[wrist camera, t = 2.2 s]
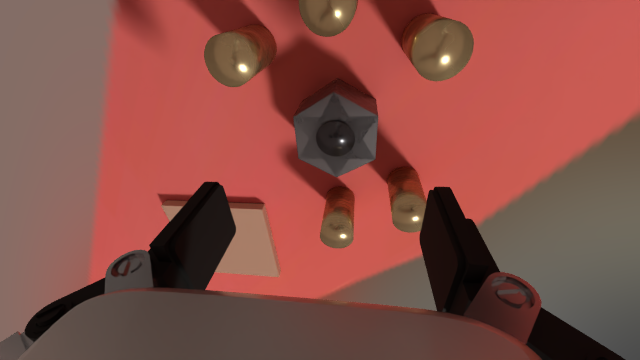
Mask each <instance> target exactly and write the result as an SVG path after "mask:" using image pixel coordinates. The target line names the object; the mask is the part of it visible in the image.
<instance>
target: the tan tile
mask: <svg viewBox="0 0 640 360" xmlns="http://www.w3.org/2000/svg"><path fill="white" fill-rule="evenodd" d="M187 202H188V201H176V200H166V201H165V202H164V203H163V204H162V205H161V206H162V208H163V210H164V212H165V213H166V215H167V217H168V219H169V221H171V220H172V219H173V217H174V216H175V215H176V214H177V213H178V212H179V211H180V209H181V208H182V207H183V206H184V205H185V204H186V203H187ZM228 203H229V202H228ZM229 207H230V210H231V213H232V216H233V219H234V222H235V225H236V233H235V235H234V237H233V239H232V241H231V243H230V245H229V246H228V248H227V250H226V252H225V254H224V256H223V258H222V259H221V261H220V263H219V265H218V267H217V269H216V270H215V272H220V273H233V274H246V275H259V276H271V277H279V276H280V272H281V269H280V265H279V261H278V257H277V253H276V249H275V245H274V240H273V236H272V232H271V228H270V224H269V220H268V215H267V211H266V207H265V204H256V203H229Z"/></svg>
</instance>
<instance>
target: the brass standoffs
mask: <svg viewBox="0 0 640 360" xmlns="http://www.w3.org/2000/svg"><path fill="white" fill-rule="evenodd" d="M357 4H358V0H299V9H300V14H301V17H302V19H303V21H304V23H305V24H306V26H307V27H308V28H309V29H310V30H311V31H312V32H314V33H315V34H317V35H320V36H325V37H330V36H334V35H337V34H339V33H341V32H342V31H344V30H345V29H346V28H347V27H348V25H349V24H350V23H351V21H352V19H353V17H354V14H355V11H356V8H357ZM473 45H474V42H473V36H472V33H471V31H470V30H469V28H468V27H467V26H466V25H465V24H463V23H461V22H459V21H455V20H452V19H449V18H445V17H442V16H438V15H435V14H430V13H426V14H421V15H419V16H417V17H415V18H414V19H412V20H411V21H410V22H409V23H408V25H407V26H406V28H405V30H404V32H403V35H402V48H403V51H404V53H405V54H406V56H407V57H408V58H409V60H410V61H411V63H412V64H413V65H414V67H415V68H416V70H417V71H418V72H419V74H420V75H421V76H423V77H424V78H426V79H428V80H431V81H443V80H446V79H449V78H451V77H453V76H455V75H456V74H458V73H459V72H460V71H461V70H462V69H463V68H464V67H465V66H466V64H467V63H468V61H469V59H470V57H471V55H472V52H473ZM276 52H277V46H276V42H275V39H274V37H273V35H272V34H271V32H270V31H269V30H267V29H266V28H265V27H263V26H260V25H250V26H246V27H243V28H239V29H236V30H232V31H229V32H225V33H222V34H218V35H215V36H213V37H212V38H211V39H210V40H209V41H208V42H207V44H206V46H205V51H204V58H205V63H206V66H207V68H208V70H209V72H210V73H211V75H212V76H213V77H214V78H215V79H216V80H217V81H218V82H220V83H221V84H223V85H226V86H229V87H239V86H241V85H243V84H245V83H246V82H248V81H249V80H250V79H251V78H253V77H254V76H255V75H257V74H258V73H259V72H260V71H262V70H263V69H264V68H266V67H267V66H268V65H270V64H271V63H272V62H273V60H274V59H275V57H276ZM387 183H388V190H389V198H390V205H391V212H392V220H393V224H394V226H395V227H396V228H397V229H399V230H401V231H404V232H418V231H421V227H422V222H423V218H424V213H425V208H426V203H427V201H426V198H425V195H424V191H423V188H422V185H421V182H420V179H419V175H418V173H417V172H416V171H415V170H414V169H412V168H409V167H399V168H396V169H394V170H393V171H392V172H391V173H390V174H389V175H388V178H387ZM354 202H355V197H354V194H353V192H352V191H351V190H349V189H348V188H345V187H335V188H332V189H331V190H330V191H329V192H328V193H327V197H326V203H325V209H324V215H323V221H322V226H321V232H320V238H321V240H322V242H323V243H324V244H326V245H327V246H329V247H332V248H344V247H347V246H349V245H350V244H351V243H352V241H353V230H354Z"/></svg>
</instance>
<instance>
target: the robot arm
mask: <svg viewBox="0 0 640 360" xmlns="http://www.w3.org/2000/svg"><path fill="white" fill-rule="evenodd" d="M235 233H236V225H235V222H234V219H233V216H232V213H231V210H230V207H229V203H228V200H227V197H226V194H225V191H224V188H223V186H222V185H220V184H219V183H218V182H204V183H203V184H202V186H201V187H200V188H199V189H198V190H197V191H196V192H195V194H194V195H193V196H192V197H191V198H190V199H189V200H188V202H187V203H186V204H185V205H184V206H183V207H182V208H181V209H180V211H179V212H178V213H177V214H176V215H175V216H174V217H173V219H172V220H171V221H170V222H169V223H168V224H167V225H166V227H165V228H164V229H163V230H162V231H161V232H160V233H159V235H158V236H157V237H156V238H155V239H154V240H153V241H152V243H151V244H150V245H149V246H150V247H151V249H150V250H149V251H148V252H147V251H145V250H134V251H131V252H128V253H126V254H124V255H122V256H120V257H119V258H117V259H116V260H115V261H114V262H113V263H112V264H111V265H110V266H109V267H108V269H107V272H106V277H105V278H103V279H101V280H99V281H97V282H95V283H93V284H90V285H88V286H86V287H84V288H82V289H80V290H78V291H75V292H73V293H71V294H69V295H67V296H65V297H63V298H61V299H58V300H56V301H54V302H52V303H51V304H49V305H47V306H45V307H44V308H43V309H41V310H40V311H39V312H37V313H36V314H35V315H34V316H33V317H32V319H31V320H30V321H29V322H28V324H27V326H26V328H25V332H23V333H21V334H20V333H19V332H16V333H14V334H13V335H11V336H10V337H8V338H7V339H5V340H3V341H2V342H0V360H625V359H623V358H622V357H621V356H619V355H617V354H616V353H614V352H613V351H611V350H609V349H608V348H606V347H605V346H603V345H601V344H600V343H598V342H596V341H595V340H593V339H592V338H590V337H588V336H587V335H585V334H583V333H582V332H580V331H579V330H577V329H575V328H574V327H572V326H570V325H569V324H567V323H566V322H564V321H562V320H561V319H559V318H558V317H556V316H554V315H553V314H551V313H550V312H548V311H546V310H545V309H543V308H541V299H540V297H539V294H538V293H537V292H536V290H535V289H534V288H533V287H532V286H531V285H530V284H529V283H528V282H526V281H525V280H523V279H521V278H520V277H517V276H515V275H512V274H509V273H504V272H500V271H499V269H498V267H497V265H496V263H495V261H494V259H493V257H492V256H491V254H490V252H489V250H488V248H487V246H486V244H485V242H484V240H483V239H482V237H481V235H480V233H479V231H478V229H477V227H476V225H475V223H474V222H473V220H471V219H466V218H465V216H464V214H463V212H462V210H461V208H460V206H459V204H458V202H457V200H456V198H455V196H454V194H453V192H452V190H451V188H450V187H435V188H434V190H430V191H429V194H428V198H427V203H426V208H425V213H424V218H423V222H422V227H421V232H420V245H421V249H422V253H423V257H424V261H425V265H426V268H427V273H428V277H429V280H430V284H431V288H432V292H433V296H434V300H435V304H436V308H437V311H432V310H426V309H417V308H408V307H398V306H389V305H378V304H367V303H356V302H344V301H333V300H322V299H310V298H298V297H286V296H273V295H261V294H249V293H236V292H223V291H210V290H205V289H206V287H207V285H208V283H209V281H210V280H211V278H212V276H213V274H214V272H215V270H216V269H217V267H218V265H219V263H220V261H221V259H222V258H223V256H224V254H225V252H226V250H227V248H228V246H229V245H230V243H231V241H232V239H233V237H234V235H235Z"/></svg>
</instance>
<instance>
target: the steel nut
mask: <svg viewBox="0 0 640 360" xmlns="http://www.w3.org/2000/svg"><path fill="white" fill-rule="evenodd" d="M293 118H294V126H295V134H296V142H297V150H298V158H299V159H300V160H303V161H305V162H307V163H309V164H311V165H313V166H315V167H317V168H319V169H321V170H323V171H325V172H327V173H329V174H331V175H333V176H335V177H338V176H341V175H343V174H345V173H347V172H349V171H351V170H354V169H356V168H358V167H360V166H362V165H364V164H367V163H369V162H371V161H373V160H375V156H376V141H377V126H378V111H377V104H376V99H374V98H372V97H370V96H369V95H367V94H365V93H363V92H361V91H360V90H358V89H356V88H354V87H353V86H351V85H349V84H347V83H345V82H344V81H342V80H340V79H338V78H337V79H336V80H334V81H333V82H331V83H330V84H328V85H327V86H325V87H323V88H322V89H320V90H319V91H317V92H316V93H314V94H313V95H311V96H309V97H308V98H306V99H305V100H303V101H302V102H301V104H300V106H299V108H298V110H297V111H296V113H295V115H294V117H293Z"/></svg>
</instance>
